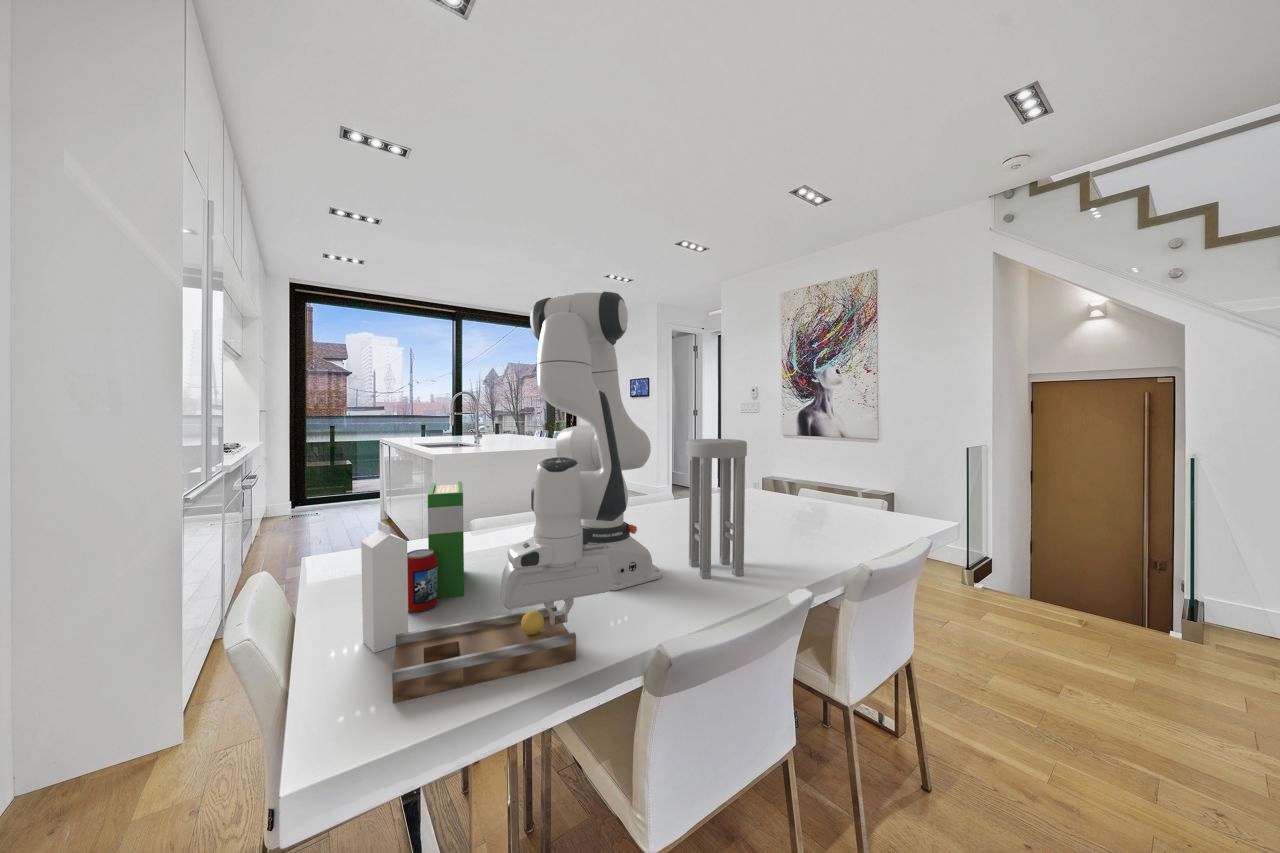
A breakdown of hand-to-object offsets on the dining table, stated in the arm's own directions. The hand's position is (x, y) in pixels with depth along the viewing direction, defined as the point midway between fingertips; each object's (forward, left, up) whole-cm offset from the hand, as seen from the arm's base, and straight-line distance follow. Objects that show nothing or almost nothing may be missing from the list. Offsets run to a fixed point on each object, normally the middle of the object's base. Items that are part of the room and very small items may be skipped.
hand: (558, 622), depth 86 cm
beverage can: (+23, -29, -4) cm, 37 cm away
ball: (+5, 0, +1) cm, 5 cm away
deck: (+13, 0, -4) cm, 13 cm away
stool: (-49, -22, -4) cm, 54 cm away
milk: (+29, -15, -4) cm, 33 cm away
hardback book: (+17, -41, -4) cm, 44 cm away
